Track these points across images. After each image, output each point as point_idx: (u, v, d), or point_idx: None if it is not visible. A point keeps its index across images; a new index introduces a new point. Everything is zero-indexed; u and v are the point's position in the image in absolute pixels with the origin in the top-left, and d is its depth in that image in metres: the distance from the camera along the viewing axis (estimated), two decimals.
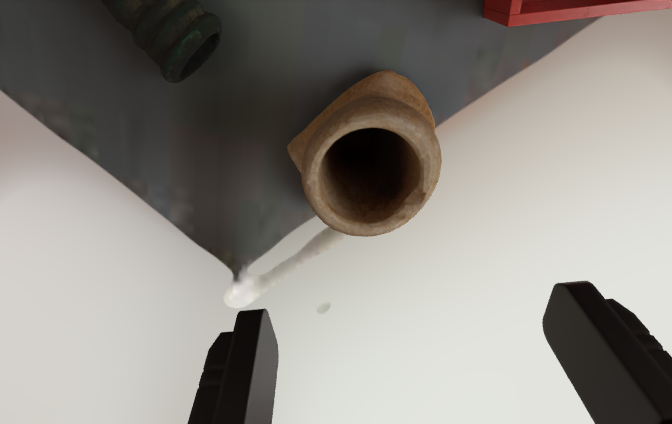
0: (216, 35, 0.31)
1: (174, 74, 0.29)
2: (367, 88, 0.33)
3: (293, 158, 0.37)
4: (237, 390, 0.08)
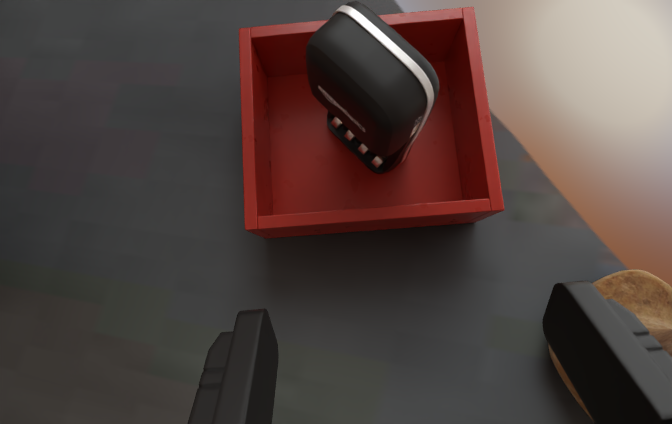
0: None
1: None
2: None
3: None
4: (237, 390, 0.08)
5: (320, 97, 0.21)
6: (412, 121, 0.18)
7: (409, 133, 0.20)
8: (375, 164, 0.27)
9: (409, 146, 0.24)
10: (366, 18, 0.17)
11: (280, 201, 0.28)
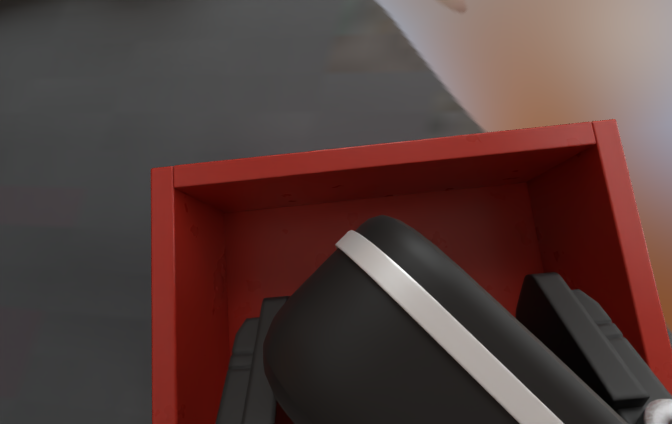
0: None
1: None
2: None
3: None
4: None
5: None
6: None
7: None
8: None
9: None
10: (450, 311, 0.05)
11: None
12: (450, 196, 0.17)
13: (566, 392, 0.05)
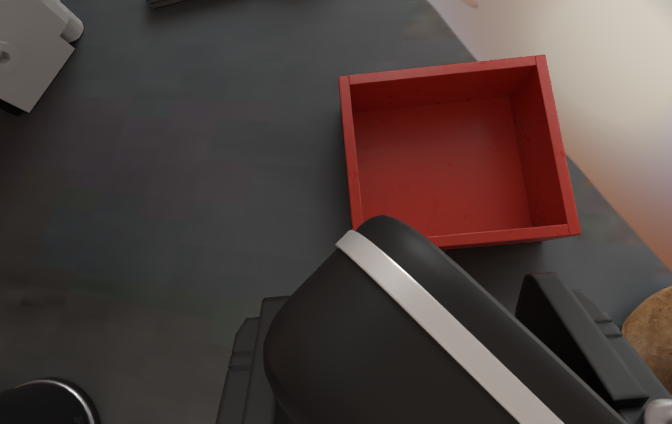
0: None
1: None
2: None
3: None
4: None
5: None
6: None
7: None
8: None
9: None
10: (450, 311, 0.05)
11: None
12: (469, 103, 0.33)
13: (566, 392, 0.05)
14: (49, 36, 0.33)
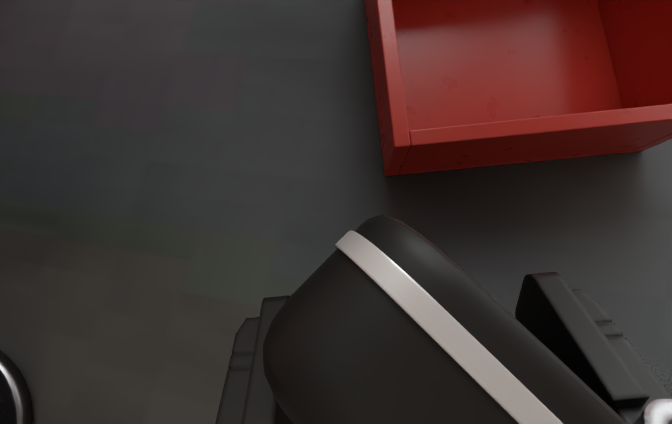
0: None
1: None
2: None
3: None
4: None
5: None
6: None
7: None
8: None
9: None
10: (450, 312, 0.05)
11: None
12: None
13: (566, 393, 0.05)
14: None
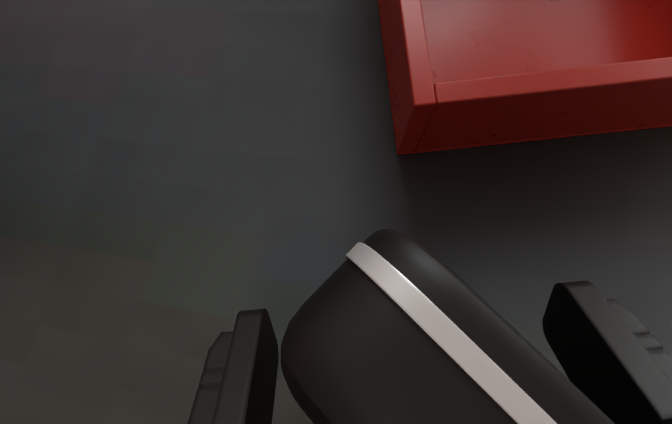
0: None
1: None
2: None
3: None
4: (237, 390, 0.08)
5: None
6: None
7: None
8: None
9: None
10: (452, 319, 0.06)
11: None
12: None
13: (555, 391, 0.06)
14: None
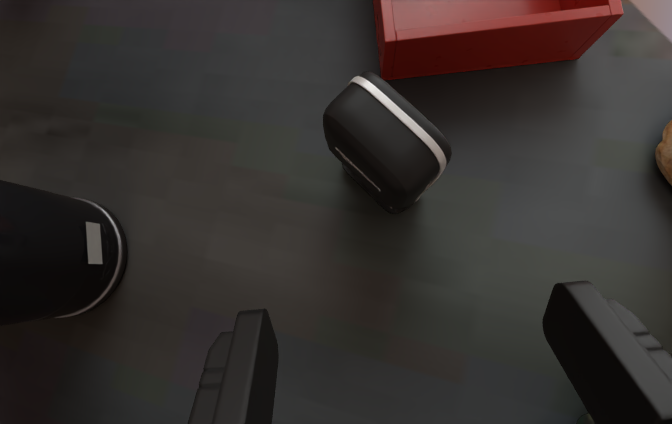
0: None
1: None
2: None
3: None
4: (237, 390, 0.08)
5: (337, 154, 0.22)
6: (425, 184, 0.19)
7: (423, 190, 0.21)
8: None
9: None
10: (380, 91, 0.18)
11: None
12: None
13: (411, 110, 0.18)
14: None
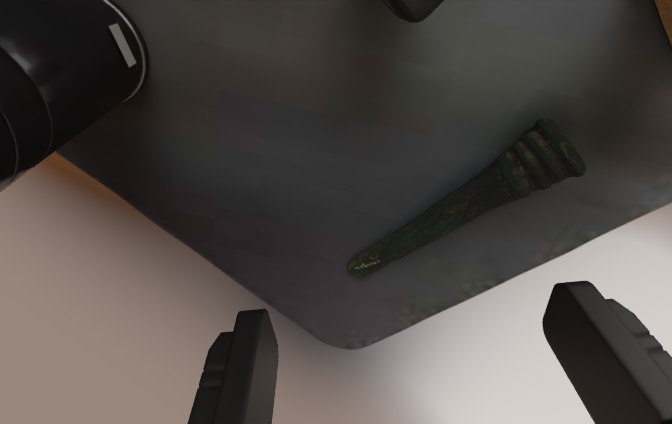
0: None
1: (585, 168, 0.34)
2: None
3: None
4: (237, 390, 0.08)
5: None
6: None
7: None
8: None
9: None
10: None
11: None
12: None
13: None
14: None
